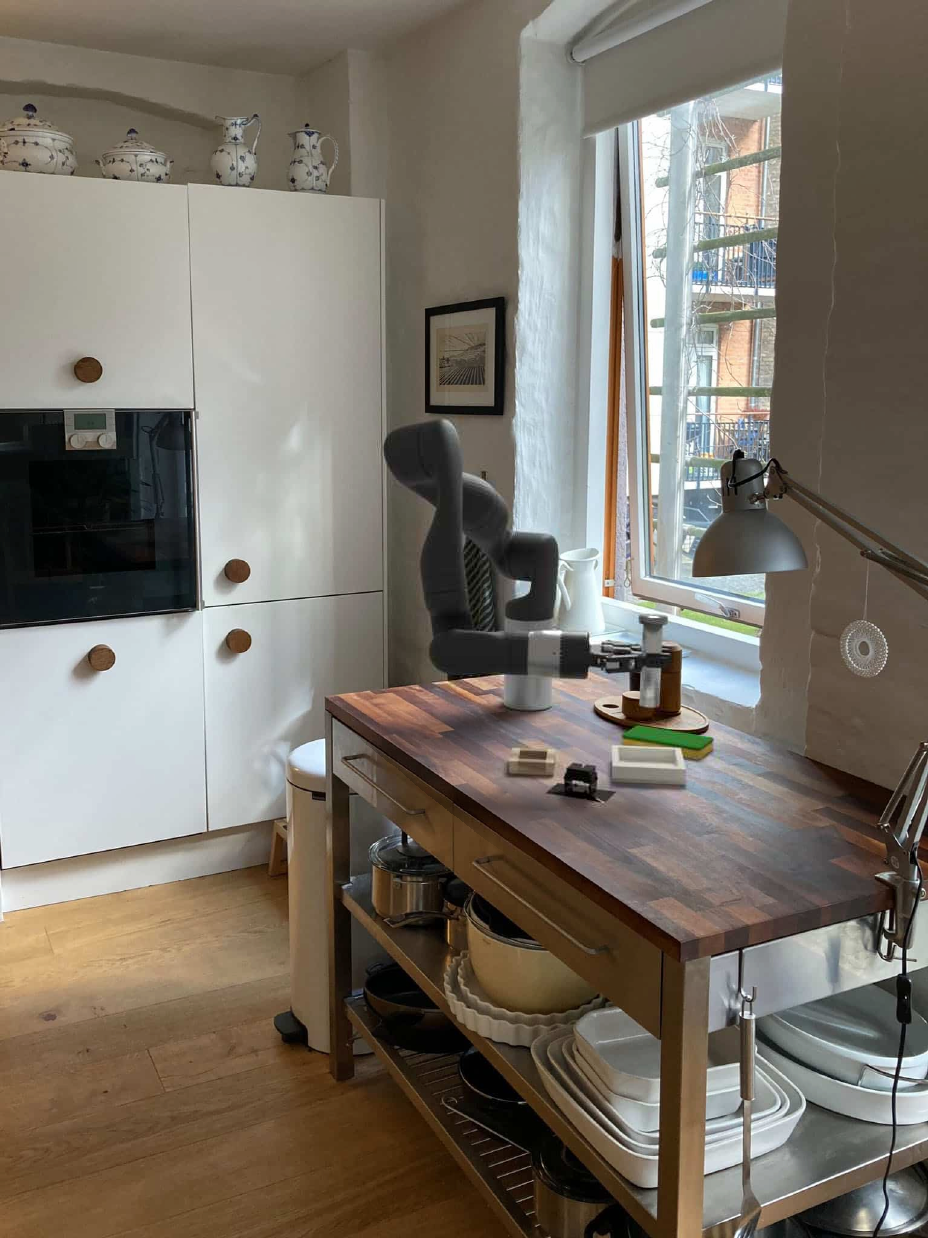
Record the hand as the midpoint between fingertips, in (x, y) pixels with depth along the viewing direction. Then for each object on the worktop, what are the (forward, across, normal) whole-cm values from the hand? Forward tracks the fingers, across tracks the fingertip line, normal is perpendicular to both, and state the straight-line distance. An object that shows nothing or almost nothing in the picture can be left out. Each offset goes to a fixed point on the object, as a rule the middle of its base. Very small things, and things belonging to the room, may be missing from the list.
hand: (670, 658), depth 173 cm
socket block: (-21, 0, +18) cm, 28 cm away
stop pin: (-3, 0, +8) cm, 8 cm away
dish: (-3, 0, +18) cm, 19 cm away
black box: (-13, -11, +19) cm, 26 cm away
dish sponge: (+1, +14, +19) cm, 24 cm away
